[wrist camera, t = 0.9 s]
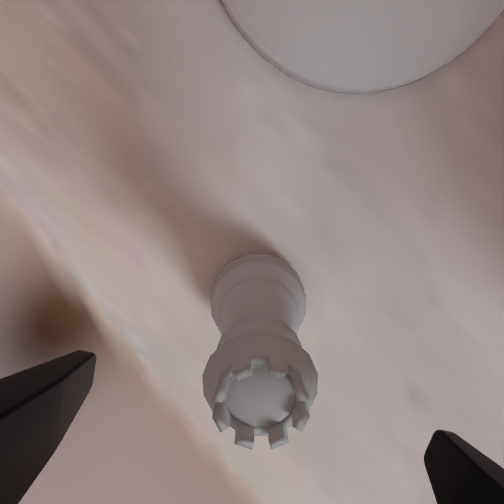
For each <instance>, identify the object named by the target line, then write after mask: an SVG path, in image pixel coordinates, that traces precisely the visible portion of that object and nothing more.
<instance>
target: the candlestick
mask: <svg viewBox="0 0 504 504" xmlns="http://www.w3.org/2000/svg"><path fill="white" fill-rule="evenodd" d="M221 1H222V3H223V5H224V7H225V9H226V11H227V13H228V14H229V16H230V18H231V19H232V21H233V22H234V24H235V26H236V27H237V28H238V30H239V31H240V33H241V34H242V35H243V36H244V38H245V39H246V40H247V41H248V43H249V44H250V45H251V46H252V47H253V48H254V49H255V50H256V51H257V52H258V53H259V54H260V55H261V56H262V57H263V58H264V59H266V60H267V61H268V62H269V63H271V64H272V65H273V66H275V67H276V68H277V69H279V70H280V71H282V72H283V73H285V74H287V75H288V76H290V77H292V78H294V79H296V80H298V81H301V82H303V83H305V84H308V85H310V86H313V87H316V88H320V89H324V90H328V91H334V92H341V93H371V92H378V91H384V90H389V89H393V88H396V87H399V86H403V85H405V84H408V83H411V82H413V81H416V80H418V79H420V78H422V77H424V76H426V75H428V74H430V73H432V72H433V71H435V70H437V69H439V68H440V67H442V66H444V65H445V64H447V63H448V62H450V61H451V60H453V59H454V58H456V57H457V56H458V55H460V54H461V53H462V52H463V51H465V50H466V49H467V48H468V47H469V46H471V45H472V44H473V43H474V42H475V41H476V40H477V39H478V38H479V37H480V36H481V35H482V34H483V33H484V32H485V31H486V30H487V29H488V28H489V27H490V25H491V24H492V23H493V22H494V21H495V20H496V18H497V17H498V16H499V15H500V14H501V12H502V11H503V10H504V0H221Z"/></svg>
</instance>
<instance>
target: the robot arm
mask: <svg viewBox="0 0 504 504" xmlns="http://www.w3.org/2000/svg"><path fill="white" fill-rule="evenodd" d="M95 364H96V355H95V353H92V352H88V351H83V350H77V351H75V352H72V353H69V354H67V355H64V356H61V357H58V358H56V359H53V360H50V361H48V362H45V363H42V364H39V365H37V366H34V367H31V368H29V369H26V370H23V371H20V372H18V373H15V374H12V375H10V376H8V377H4V378H2V379H0V504H18V503H19V502H20V500H21V499H22V497H23V496H24V494H25V493H26V492H27V490H28V489H29V487H30V486H31V485H32V483H33V482H34V480H35V479H36V478H37V476H38V475H39V473H40V472H41V471H42V469H43V468H44V466H45V465H46V464H47V462H48V461H49V459H50V457H51V456H52V455H53V453H54V452H55V450H56V449H57V447H58V445H59V444H60V442H61V440H62V439H63V437H64V435H65V433H66V432H67V430H68V428H69V426H70V424H71V423H72V421H73V419H74V417H75V416H76V414H77V412H78V410H79V409H80V407H81V405H82V404H83V402H84V400H85V398H86V397H87V395H88V393H89V391H90V389H91V386H92V383H93V378H94V371H95ZM424 463H425V467H426V470H427V473H428V476H429V479H430V482H431V485H432V489H433V492H434V495H435V498H436V501H437V504H504V469H503V468H502V467H500V466H499V465H498V464H496V463H495V462H494V461H492V460H491V459H489V458H488V457H487V456H485V455H484V454H483V453H481V452H480V451H478V450H477V449H476V448H474V447H473V446H472V445H470V444H469V443H467V442H466V441H465V440H463V439H462V438H461V437H459V436H458V435H456V434H455V433H453V432H449V431H444V430H436V431H435V432H434V434H433V436H432V438H431V440H430V443H429V445H428V447H427V449H426V452H425V455H424Z"/></svg>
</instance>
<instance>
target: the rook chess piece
mask: <svg viewBox="0 0 504 504" xmlns="http://www.w3.org/2000/svg"><path fill="white" fill-rule="evenodd" d="M211 308H212V317H213V319H214V321H215V323H216V325H217V327H218V329H219V331H220V333H221V334H222V337H221V339H220V342H219V344H218V347H217V350H216V351H215V352H214V353H213V354H212V355H211V356H210V358H209V360H208V363H207V365H206V368H205V370H204V373H203V390H204V396H205V398H206V400H207V402H208V404H209V406H210V407H211V409H212V411H213V417H212V418H213V420H214V421H215V423H216V425H217V427H218V429H219V431H220V432H222V431H224V430H226V429H227V428H229V427H230V426H231V427H232V428H233V429H235V430H236V431H235V444H237V445H240V446H243V447H246V448H249V449H252V448H253V443H254V436H267V435H268V437H269V443H270V447H271V449H273V448H276V447H278V446H281V445H284V444H287V443H288V436H287V429H288V428H289V427H291V426H292V425H293V427H295V428H297V429H298V430H300V431H302V430H303V428H304V426H305V424H306V422H307V420H308V418H309V409H310V407H311V405H312V403H313V401H314V399H315V397H316V395H317V380H318V373H317V371H316V369H315V366H314V364H313V362H312V360H311V357H310V355H309V354H308V353H307V352H306V351H305V350H304V349H302V346H301V344H300V341H299V339H298V337H297V335H296V333H297V331H298V329H299V327H300V325H301V322H302V320H303V318H304V315H305V294H304V287H303V285H302V283H301V280H300V278H299V276H298V273H297V272H296V271H295V270H294V269H293V268H292V267H291V266H290V265H288V264H287V263H286V262H285V261H284V260H282V259H279V258H277V257H274V256H271V255H269V254H247V255H245V256H242V257H240V258H238V259H235V260H233V261H231V262H230V263H229V264H228V265H227V266H226V267H225V268H224V269H223V270H222V271H221V272H220V273H219V274H218V276H217V279H216V281H215V284H214V287H213V289H212V296H211Z"/></svg>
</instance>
